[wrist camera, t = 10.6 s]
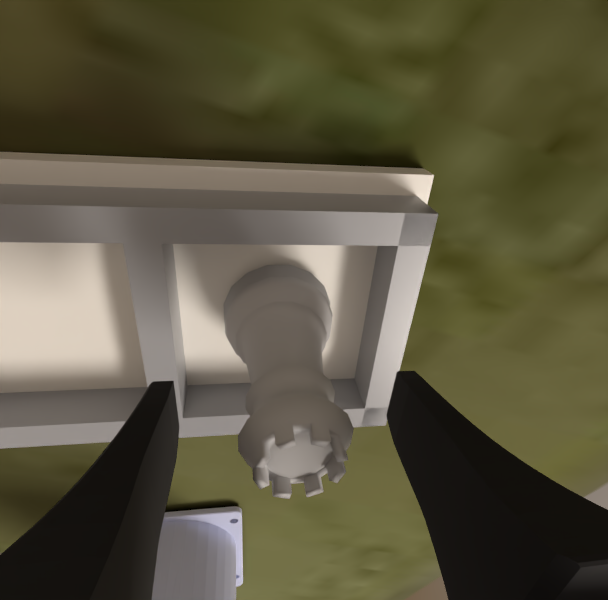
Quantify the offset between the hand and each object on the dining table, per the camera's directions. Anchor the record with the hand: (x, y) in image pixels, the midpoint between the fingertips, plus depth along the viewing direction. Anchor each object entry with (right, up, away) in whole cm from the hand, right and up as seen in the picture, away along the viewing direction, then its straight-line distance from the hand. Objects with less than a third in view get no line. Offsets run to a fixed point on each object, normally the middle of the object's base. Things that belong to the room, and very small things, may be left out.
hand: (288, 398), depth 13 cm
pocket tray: (-5, +3, +4) cm, 8 cm away
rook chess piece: (-1, +3, +4) cm, 5 cm away
